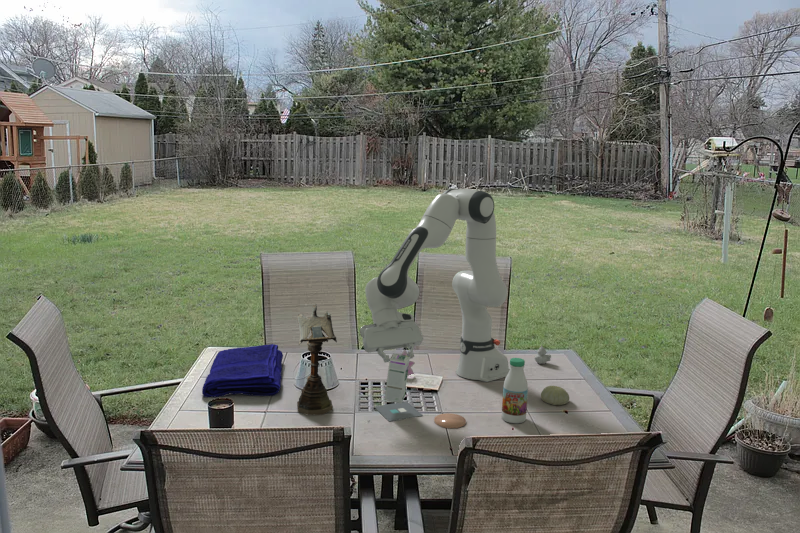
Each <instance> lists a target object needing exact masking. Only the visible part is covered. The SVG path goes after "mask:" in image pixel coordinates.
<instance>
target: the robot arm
mask: <svg viewBox="0 0 800 533" xmlns="http://www.w3.org/2000/svg"><path fill="white" fill-rule="evenodd" d="M494 212H495V201H494V198H493V197H492V195H491V194H490V193H488V192H486V191H484V190H477V189H471V188H449V189H447V190H445V191H444V192H442V193H439V194H437V195H436V196H435V197H434V198H433V199H432V200H431V202H430V204H429V205H428V206H427V208H426V210H425V211H424V213H423V216H422V217H421V219H420V221H419V223H418V224H417V226H416V227H414V228H413V229H412V230H411V231H410V232H409V234H408V235H407V236H406V238H405V239H404V241H403V242H402V244H401V246H400V247H399V249H398V250H397V252H396V254H394V257H393V258H392V259H391V261H390V262H389V263H387V264H388V265H386V266H385V267H384V268H383V269H382V270H381V272H380V273H379V274H378V276H377V277H376V276H375V277H374V278H372V279H370V280H369V281H368V282H367V283H366V285H365V290H364V291H365V293H364V294H365V298H366V302H367V306H368V309H369V310H370V313H371V319H372V322H373V323H371V324H364V325H363V326H361V327H360V329H359V333H360V336H361V338H362V344H363V348H364V351H365V352H366V353H368V354H369V353H374V352H377V354H378V356H380V358H382V360H383V362H384V363H389V361H390V358H391V357H390V355H389V354H386V353H385V352H384V351H389V350H390V351H391V350H397V349H403V348H407V350H409V352H407V356H409V357H410V360H411V359H414V357H415V356H414V348H415V347H416V346H420V345H421V344H422V342H423V340H424V336H423V334H422V331H421V329H420V326H419V325H418V323H417V322H416V321H414V320H415V317H414V315H413V314H411V313H406V312H405V313H404V312H400V311H398V310H400V309H405V308H407V307H410V306H413V305H414V304H416V302H417V301H418V300H419V298H420V293H421V292H420V291H421V289H420V287H419V285H418V284H417V283H416V282H415V280H414V279H412V278H411V277H410V276H409V270H410V268H411V267H412V265H413V263H414V261H415V260H416V258H417V257H418V256H419V254H420V252H421V251H422V250H424V249H437V248H440V247H442V246H443V245H444V244H445V242H446V241H447V240H448V238H449V236H450V234H451V232H452V230H453V229H454V226H455V223H456V221H457V220H461V221H465V222H466V228H465V229H466V230H465V252H464V253H465V254H464V255H465V259H466V261H467V262H468V263H469V265H470V269H471V270H461V271H458V272H457V273H455V275H454V276H453V279H452V281H451V288H452V290H453V292H454V294H456V296H457V299H458V302H459V308H460V311H461V319H462V323H461V324H462V326H461V327H462V328H461V329H462V330H461V337H460V343H459V344H460V345H459V346H460V347H459V350H460V354H459V358H458V364H457V367H456V371H455V372H456V375H458V376H460V377H461V378H465V379H468V380H473V381H474V380H476V381H482V382H488V383H489V382H491V381H496V380H499V379H502V378H506V376H507V375H508V373H509V370H510V364H509V360H508V357H507V356H506V354H504V353H502V351H501V350H499V349H498V348H497V347H495V345H496V346H500V345H501V341H500V340H499V339H495V338H492V332H493V330H492V327H493V318H492V315H491V314H490V313H489V311H488V309H487V307H489V308H490V307H492V308H493V307H494V308H497V307H501V306H502V305H503V304H504V303H505V301H506V300H507V298H508V293H509V292H508V287H507V285H506V283H505V282H504V281H503V279H502V276H501V275H500V271H499V266H498V264H497V263H498V262H497V223H496V216H495V213H494Z"/></svg>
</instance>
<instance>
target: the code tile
mask: <svg viewBox="0 0 800 533" xmlns="http://www.w3.org/2000/svg"><path fill="white" fill-rule="evenodd" d="M374 409H376V410H377V412H378V413H379V414H380V415H382V417H384V418H385V419H386V420H387V421H388V422H393V421H394V422H396V421H400V420H406V418H407V419H413V418H417V417H418V418H419V417H423V416H424V415H423V413H421V412H420V411H419V410H417V408H415V407H414V406H413V405H412V404H411V403H410V402H408V401H407V400H405V401H402V403H401V404H400V403H395V402H392V403H389V404H383V405H376V406H374Z"/></svg>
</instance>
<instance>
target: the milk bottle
mask: <svg viewBox="0 0 800 533" xmlns="http://www.w3.org/2000/svg"><path fill="white" fill-rule="evenodd" d="M525 363H526V360H525V359H524V358H522V357H512V358H510V359H509V367H510V370H509V373H508V375H507V376H506V377H504V378H505V379H504V381H503V386H502V388H503V391H502V406H501V419H502V420H503V421H504V422H506V423H509V424H522V423H524V422H525V421H526V420H527V409H528V407H527V406H528V388H529V387H528V384H529V383H528V379H527V377H526V375H525V371H524V368H525Z"/></svg>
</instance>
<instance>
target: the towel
mask: <svg viewBox="0 0 800 533" xmlns="http://www.w3.org/2000/svg"><path fill="white" fill-rule="evenodd" d="M283 359H284V355H283V352H282V351H281V350H279V345H278V344H275V343H274V344H273V343H271V344H264V345H262V344H261V345H256V346H255V345H253V346H245V347H235V348H228V349H223V350H220V351H218V352H217V354H216V356H215V358H214V360H213V362H212V364H211V365H210V369H209V373H208V374H207V376H206V378H205V381H204V384H203V386H202V389H201V391H202V392H201V394H202V396H203V397H204V398H220V397H219V396H221V397H224V396H226V395H247V396H252V397H253V396H259V397H272V396H275V395H277V394H278V393H279V392H280V390H281V387H282V386H281V385H282V370H283V364H282V362H283Z"/></svg>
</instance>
